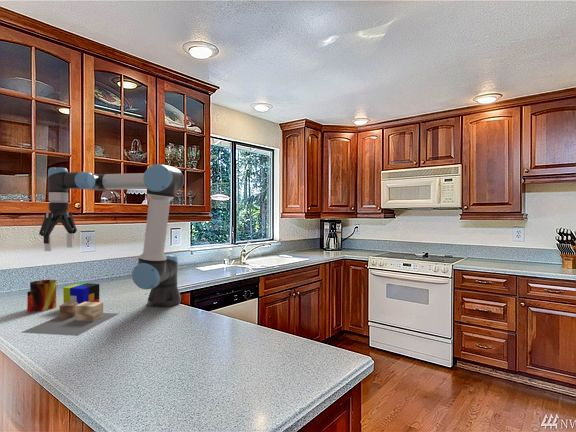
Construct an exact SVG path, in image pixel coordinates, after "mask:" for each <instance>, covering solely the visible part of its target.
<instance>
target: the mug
mask: <svg viewBox="0 0 576 432" xmlns="http://www.w3.org/2000/svg"><path fill="white" fill-rule="evenodd" d="M26 294H27V302H26V303H27V305H26V306H27V307H26V308H27V312H26V313H28V314H31V313H32V312H44V311H49V310H53V309H55V308H56V307H57V280H56V279H40V280H34V281H31V282H29V291H27V293H26Z"/></svg>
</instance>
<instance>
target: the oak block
mask: <svg viewBox="0 0 576 432" xmlns="http://www.w3.org/2000/svg"><path fill="white" fill-rule="evenodd" d="M103 313H104V302H102V301H101V302H100V301H99V302H83V303H80V304H78V305H75V320H76V321H96V320H98V319H100V318H102V317H103Z"/></svg>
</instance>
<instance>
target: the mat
mask: <svg viewBox="0 0 576 432" xmlns="http://www.w3.org/2000/svg"><path fill="white" fill-rule="evenodd" d="M117 315H119V313H116V312H115V313H113V312H112V313H111V312H110V313H109V312H103V317H102V318H100V319H98V320H96V321H76V320H75V316H74V317H73V318H60V315H59V316H57V317H54V318H52V319H50V320H47V321H44V322H43V323H40V324H37V325H35V326H33V327H29V328H28V329H26V330H23V331H21V333H27V334H42V335H44V334H45V335H57V336H58V335H59V336H60V335H61V336H76V337H78V336H80V335H82V334H84V333H86V332H88V331H90V330H91V329H93V328H95V327H96V326H99V325H101V324H103V323H104V322H106V321H108V320H110V319H112V318H114V317H115V316H116V317H117Z"/></svg>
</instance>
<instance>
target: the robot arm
mask: <svg viewBox="0 0 576 432" xmlns="http://www.w3.org/2000/svg"><path fill="white" fill-rule="evenodd" d="M47 171H48V172H47V183H48V184H47V185H48V201H49V203H48V211H49V212H45V213H44V217H43V218H44V219H43V221H42V224H41V227H40V229H39V232H38V235H39V236H41V237H43V245H44V246H43V247H44V252H52V235H51V233H53V231H54V228H55V226H56V225H57V224H60V223H61V224H62V226H63V228H64V229H65V231H66V232H67V233H66V248H74V238H75V237H74V234H76V233H77V231H78V229H77V227H76V224H75V221H74V218H73V214H72V212H68V211H69V203H68V202H69V190H91V191H92V190H93V191H107V190H109V191H110V190H112V191H113V190H115V191H116V190H146V194H145V195H146V196H147V197H148V198H149V201H148V208H147V216H146V224H145V226H146V227H145V233H144V243H143V249H142V250H143V251H142V253H141V254H139V256H138V261H137V264H136V265H135V267H134V268H133V269H132V272H131V278H132V281H133V283H134V284H135V286H136V287H138V288H140V289H141V290H150V291H149V294H148V296H147V305H148V306H149V307H152V308H153V307H155V308H161V307H162V308H167V307H172V306H177V305H179V304H180V303H181V302H182V296H181V293H180V290H179V288H178V257H177V256H176V255H171V254H168V255H167V254H165V246H166V245H165V244H166V239H167V238H166V237H167V230H168V222H169V213H170V206H171V201H172V200H173V199H175V195H176V194H175V193H176V192H178V191H180V190H181V189H182V188H183V186H184V183H185V176H184V174H183V173H182V171H181V170H180V169H178V168H177V167H174V166H170V165H166V164H158V163H157V164H152V165H151V166H149V167H148V168H146V170H145V171H144V172H143V173H142V172H139V173H135V172H134V173H103V174H102V173H100V174H96V173H92V172H89V171H72V172H71V171H70V172H69V171H68V169H67V168H66V167H60V166H59V167H56V166H55V167H49V168H48V169H47Z"/></svg>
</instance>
